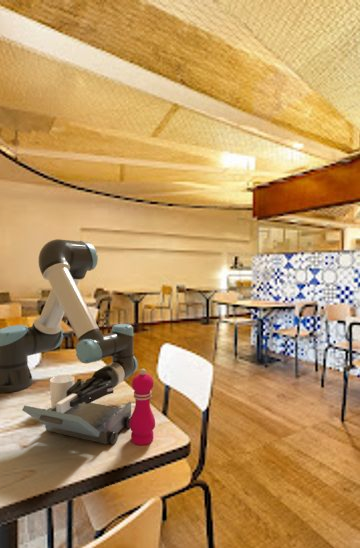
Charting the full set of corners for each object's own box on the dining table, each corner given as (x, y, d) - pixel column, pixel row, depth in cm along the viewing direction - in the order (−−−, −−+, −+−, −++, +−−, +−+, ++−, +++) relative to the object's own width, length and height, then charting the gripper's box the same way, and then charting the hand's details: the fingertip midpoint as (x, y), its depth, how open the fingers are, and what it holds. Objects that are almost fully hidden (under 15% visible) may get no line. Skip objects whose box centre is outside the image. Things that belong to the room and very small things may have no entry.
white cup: (66, 414, 101) (66, 384, 101) (44, 411, 103) (44, 381, 102) (78, 403, 109) (78, 375, 108) (58, 401, 110) (58, 373, 110)
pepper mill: (131, 448, 83) (131, 374, 82) (127, 434, 89) (128, 365, 89) (157, 444, 85) (158, 372, 84) (152, 430, 92) (153, 363, 91)
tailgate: (44, 429, 87) (19, 414, 78) (48, 421, 88) (24, 405, 80) (96, 441, 81) (75, 426, 73) (100, 432, 83) (79, 416, 74)
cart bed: (42, 432, 90) (42, 410, 89) (74, 411, 103) (74, 392, 103) (110, 448, 82) (110, 424, 82) (134, 423, 96) (134, 402, 95)
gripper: (125, 391, 99) (80, 427, 77) (91, 386, 104) (38, 419, 81) (126, 368, 99) (80, 398, 77) (91, 364, 103) (38, 390, 81)
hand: (58, 408), depth 79 cm, fingers closed
